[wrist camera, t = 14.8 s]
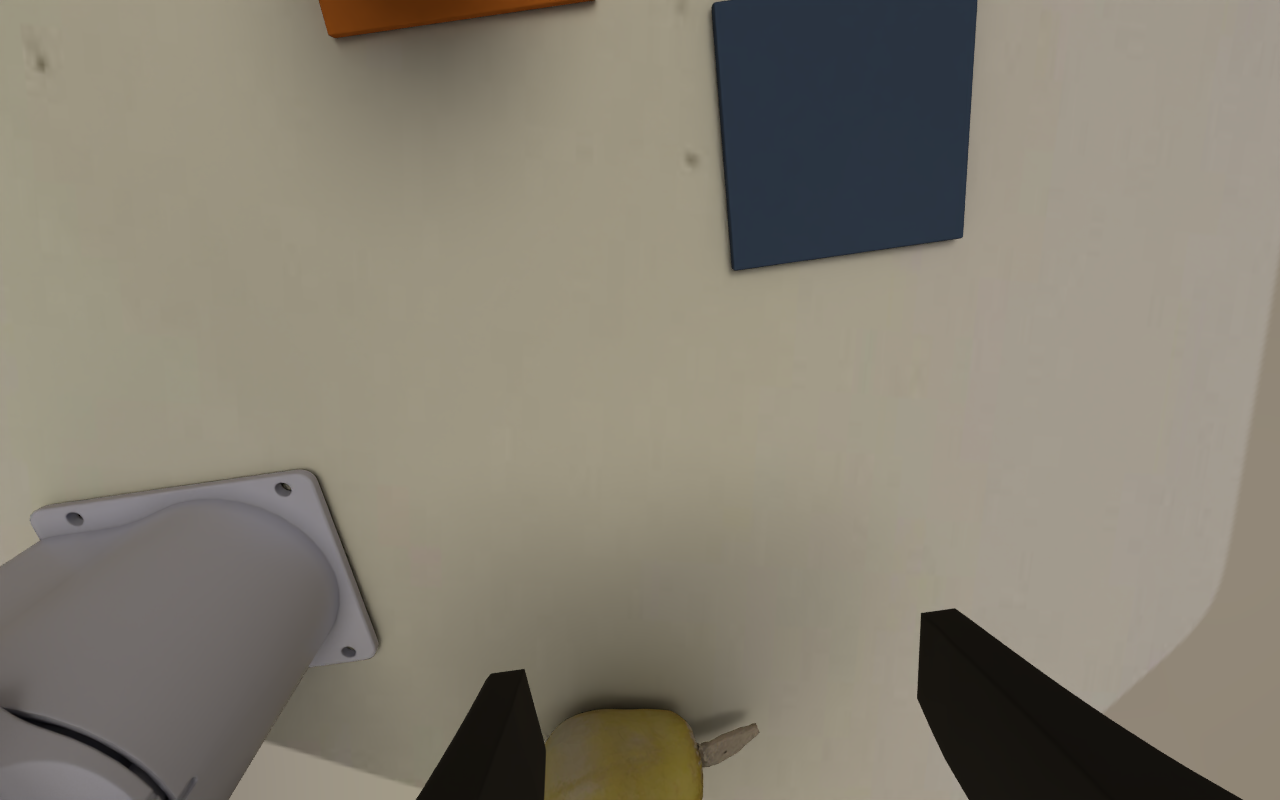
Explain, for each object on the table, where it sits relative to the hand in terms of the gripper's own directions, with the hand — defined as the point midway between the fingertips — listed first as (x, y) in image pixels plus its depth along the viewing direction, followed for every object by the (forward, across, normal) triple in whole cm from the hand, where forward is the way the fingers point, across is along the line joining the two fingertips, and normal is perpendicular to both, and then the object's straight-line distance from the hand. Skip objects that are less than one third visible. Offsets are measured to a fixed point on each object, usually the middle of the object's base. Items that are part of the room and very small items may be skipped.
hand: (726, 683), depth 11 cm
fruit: (+11, +3, +13) cm, 17 cm away
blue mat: (+10, -6, -9) cm, 15 cm away
